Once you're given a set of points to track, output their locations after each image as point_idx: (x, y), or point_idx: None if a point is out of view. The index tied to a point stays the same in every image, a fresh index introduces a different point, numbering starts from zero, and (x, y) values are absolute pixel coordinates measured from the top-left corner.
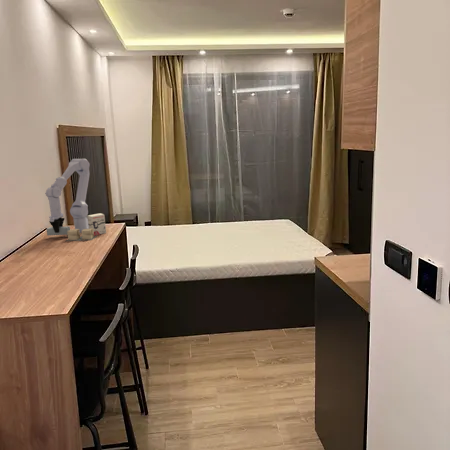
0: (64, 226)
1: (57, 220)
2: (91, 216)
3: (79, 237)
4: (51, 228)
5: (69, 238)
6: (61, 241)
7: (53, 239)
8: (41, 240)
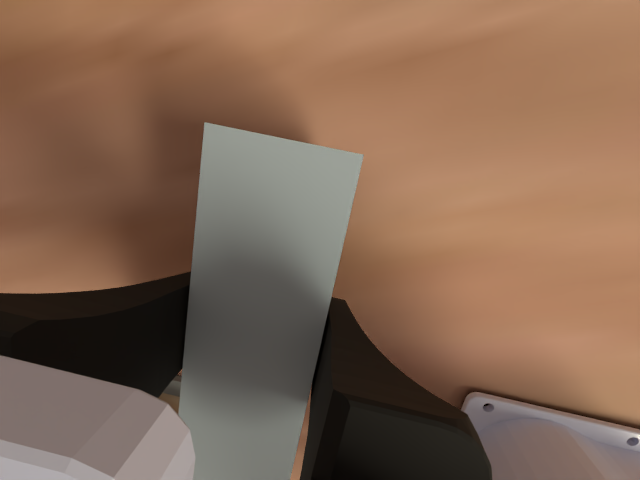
0: (296, 440)
1: (311, 462)
2: None
3: None
4: (195, 236)
5: None
6: None
7: None
8: (221, 60)
